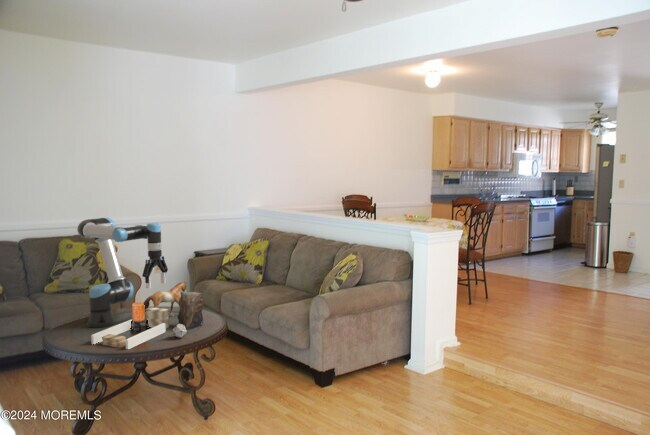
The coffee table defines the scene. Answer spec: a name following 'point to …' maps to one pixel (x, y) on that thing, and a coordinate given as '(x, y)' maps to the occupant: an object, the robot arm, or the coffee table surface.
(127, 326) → the rack
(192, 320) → the brown rough tall block
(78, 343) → the coffee table surface
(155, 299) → the horse figurine
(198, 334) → the coffee table surface
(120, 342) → the offcut stack
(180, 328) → the game die
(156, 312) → the beige stone slab
